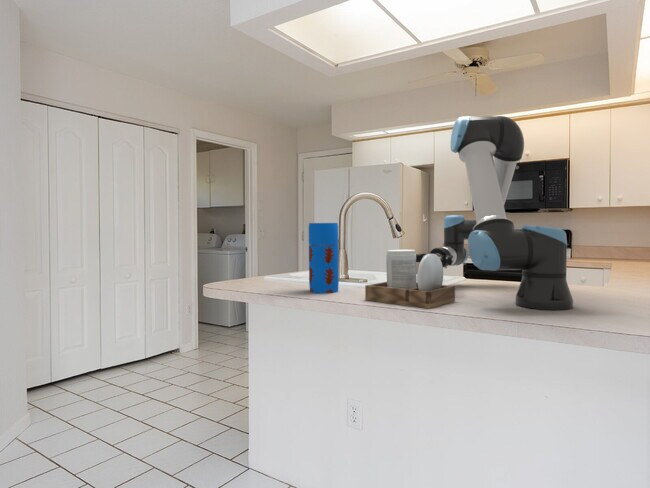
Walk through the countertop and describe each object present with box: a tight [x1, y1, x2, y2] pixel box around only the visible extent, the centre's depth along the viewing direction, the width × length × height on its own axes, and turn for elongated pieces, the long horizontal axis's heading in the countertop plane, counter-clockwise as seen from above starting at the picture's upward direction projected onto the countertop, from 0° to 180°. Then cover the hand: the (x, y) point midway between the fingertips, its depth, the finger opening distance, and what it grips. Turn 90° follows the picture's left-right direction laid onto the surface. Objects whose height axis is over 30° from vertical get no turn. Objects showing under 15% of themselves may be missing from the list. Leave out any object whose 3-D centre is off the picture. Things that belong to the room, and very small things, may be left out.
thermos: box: [308, 222, 340, 294], centre depth 164 cm, size 11×11×25 cm
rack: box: [364, 281, 456, 309], centre depth 142 cm, size 23×16×5 cm
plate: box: [416, 253, 444, 291], centre depth 137 cm, size 1×14×14 cm, turn 138°
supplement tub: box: [386, 249, 417, 289], centre depth 145 cm, size 10×10×15 cm
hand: (412, 261), depth 150 cm, fingers open, 13 cm apart
